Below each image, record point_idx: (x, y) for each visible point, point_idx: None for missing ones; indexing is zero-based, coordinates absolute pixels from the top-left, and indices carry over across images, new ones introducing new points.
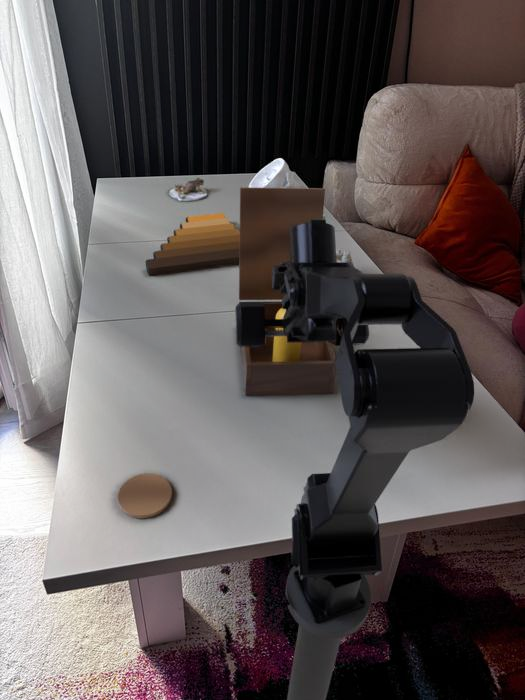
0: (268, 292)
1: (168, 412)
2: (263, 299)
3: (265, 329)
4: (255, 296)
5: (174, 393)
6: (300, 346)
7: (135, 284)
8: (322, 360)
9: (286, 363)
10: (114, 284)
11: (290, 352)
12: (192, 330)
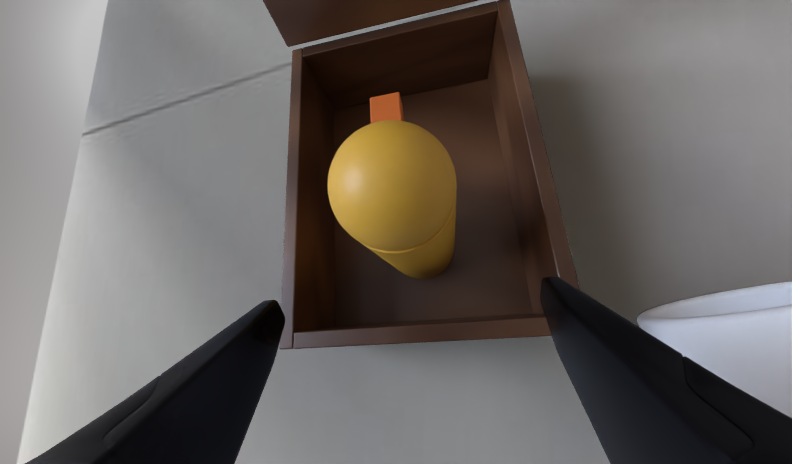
0: (357, 2)
1: None
2: (350, 30)
3: (219, 384)
4: (324, 26)
5: (194, 330)
6: (452, 239)
7: (167, 16)
8: (521, 223)
9: (401, 337)
10: (137, 25)
11: (418, 267)
12: (244, 126)
